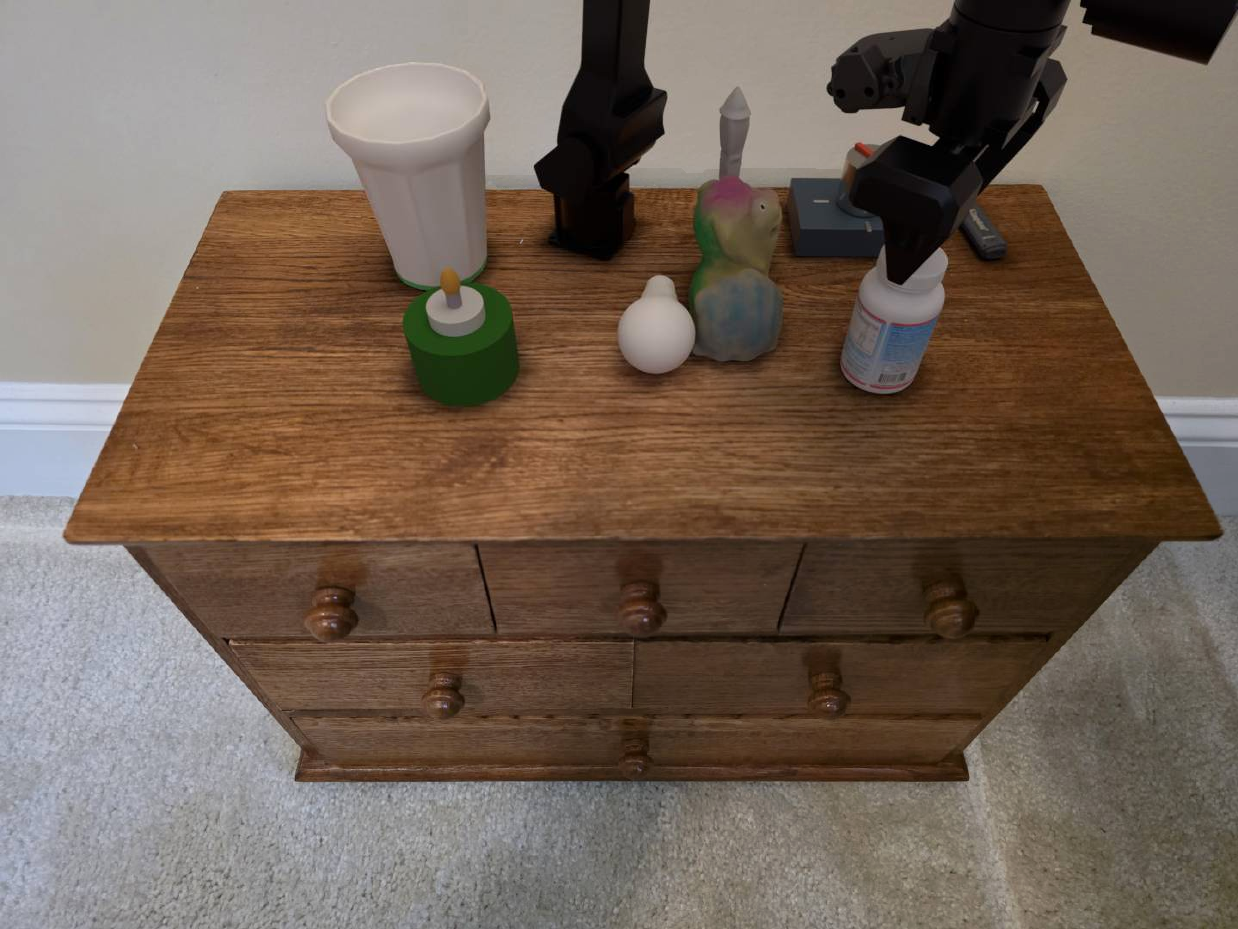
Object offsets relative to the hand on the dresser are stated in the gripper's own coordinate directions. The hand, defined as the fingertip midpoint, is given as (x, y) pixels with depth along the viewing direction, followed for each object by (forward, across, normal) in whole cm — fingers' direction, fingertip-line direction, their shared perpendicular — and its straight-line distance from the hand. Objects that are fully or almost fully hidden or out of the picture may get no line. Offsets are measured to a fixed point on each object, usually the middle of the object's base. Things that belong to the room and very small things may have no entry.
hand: (923, 247), depth 56 cm
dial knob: (+9, -15, -10) cm, 20 cm away
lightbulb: (+10, +4, -19) cm, 22 cm away
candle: (+12, +20, -27) cm, 36 cm away
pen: (+12, -8, -20) cm, 25 cm away
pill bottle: (+12, 0, 0) cm, 12 cm away
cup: (+12, +12, -38) cm, 42 cm away
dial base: (+12, -15, -10) cm, 22 cm away
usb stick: (+12, -22, -1) cm, 25 cm away
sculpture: (+12, +1, -14) cm, 18 cm away
